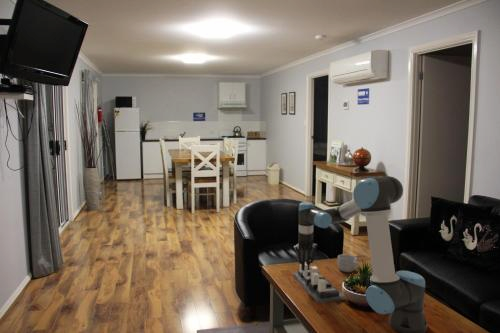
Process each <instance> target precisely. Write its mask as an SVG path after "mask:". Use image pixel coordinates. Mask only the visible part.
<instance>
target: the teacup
mask: <svg viewBox="0 0 500 333" xmlns="http://www.w3.org/2000/svg"><path fill="white" fill-rule="evenodd" d="M357 260H358V257H357V256H355V255H351V254H346V253H345V254H339V255H337V267H338V269H339V270H340V271H341V272H344V273H351V272H354V271H355V270H356V269H358V268H359V263H358V261H357ZM357 267H358V268H357Z"/></svg>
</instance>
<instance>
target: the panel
mask: <svg viewBox="0 0 500 333" xmlns="http://www.w3.org/2000/svg"><path fill="white" fill-rule="evenodd" d="M310 273H311V268H309V270H308V275H307V277H304V276H303V273H302V272H301V271H300V269H298V270H297V272H293V278H294V279H295V280H296V281H297V283H299V285H300V286H301V287H302V288H303V289H304V291H306V292H307V294H308V295H310V296H309V297H311V298H312V299H313V301H314V302H316V304H325V303H330V302H331V303H332V302H338V301H339V302H340V301H344V300H345V295H344V293H342V292H341V291H340V290H339V289H337V287H335V286H334V285H333V284H332V283H331V282H330V281H329V280H328V279H327V278H326V277H325V276H324V275H322V274H321V273H320V272H319V271H318V274H319V279H324V280H325V281H326V291H325V292H320V291H319V290H318V285H313V284H312V283H311V276H310Z"/></svg>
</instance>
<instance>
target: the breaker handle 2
mask: <svg viewBox="0 0 500 333" xmlns="http://www.w3.org/2000/svg"><path fill="white" fill-rule="evenodd" d="M318 279H319V274H318V273H311V283H312V284H313V285H318Z"/></svg>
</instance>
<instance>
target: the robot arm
mask: <svg viewBox="0 0 500 333" xmlns="http://www.w3.org/2000/svg"><path fill="white" fill-rule="evenodd" d="M403 194H404V187H403V184H402V182H401V181H400V180H399V179H397V178H396V177H394V176H390V175H388V176H387V175H386V176H380V177H379V176H377V177H368V178H365V179H361V180H359V181H358V182H357V183H356V185H354V189H353V191H352V198H353V199H351V200H349V201H347V202H345V203H343V204H341V205H339V206H336V207H334V208H328V209H321V210H320V209H316V208H315V206H314V203H312V202H310V201H304V202H300V203H299V205H298V237H297V238H298V242H297V244H296V245H295V244H294V245H293V248H294V251H295V255H296V259H297V263H299V265H300V264H301V269H302V270H303V276H304V277H307V275H308V270H309V269H310V265H311V264H313V262H314V258H315V254H316V251H317V249H318V247H319V245H318V244H317V243H314V226H315V227H316V226H317V227H318V228H322V229H327V228H328V227H330V226H331V225H332V224H337V223H338V224H339V223H344V222H348V221H349V220H350V219H351V218H353V217H357V216H358V215H360V214H363V216H365V222H366V229H367V238H368V246H369V253H370V260H371V261H370V262H371V270H372V275H371V276H369V277H370V285H371V286H369V287H368V288H367V290H366V289H365V298H366V301H367V303H368V305H369V307H371V309H372V310H373V311H374V312H376V313H377V314H379V315H380V314H381V315H386V314H389V316H388V325H389V326H390V327H391V329H392V330H395V331H397V332H399V333H426V332H427V329H428V322H427V319H426V316H425V312H424V308H425V307H424V306H425V290H426V280H425V278H424V277H423V276H422V275H420V274H419V273H417V272H412V271H410V270H398V271H396V269H395V264H394V263H395V262H394V254H393V248H392V247H393V246H392V240H391V239H392V238H391V231H390V222H389V217H388V216H389V215H388V214H389V213H390V211H391V209H392V208H391V204H395V203H397V202H399V201H400V200H401V198H402V197H403ZM305 262H306V263H305Z"/></svg>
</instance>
